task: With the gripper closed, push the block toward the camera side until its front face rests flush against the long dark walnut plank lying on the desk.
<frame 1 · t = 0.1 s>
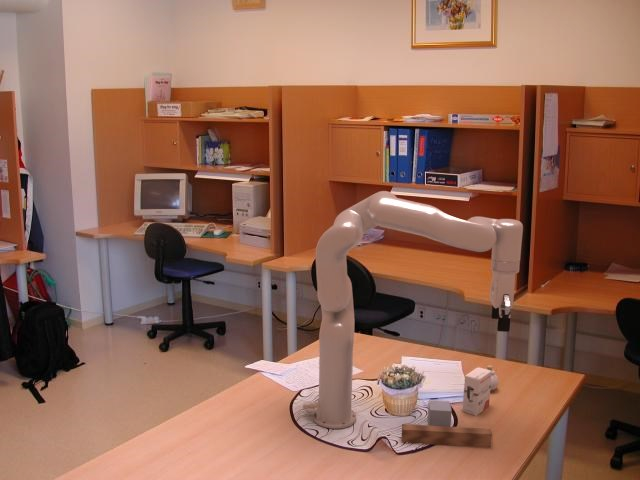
hand: (500, 324, 199), 31 cm above the table, fingers open, 9 cm apart
block: (438, 424, 208), on the table
board: (445, 442, 198), on the table
ink box: (475, 409, 218), on the table
ornament: (489, 391, 230), on the table
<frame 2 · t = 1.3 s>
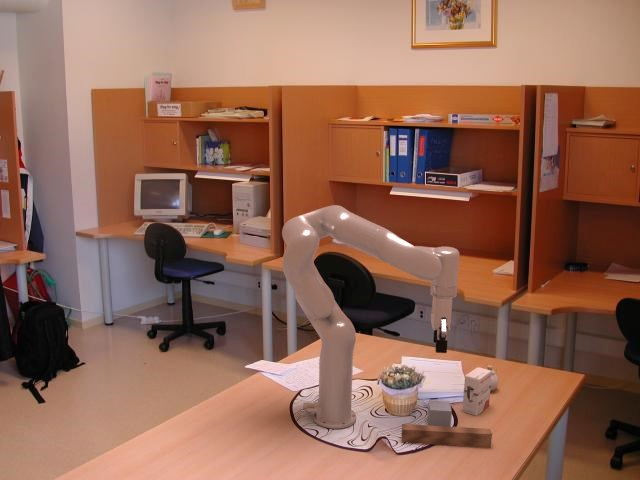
hand: (439, 347, 213), 20 cm above the table, fingers open, 6 cm apart
nothing on the table moved.
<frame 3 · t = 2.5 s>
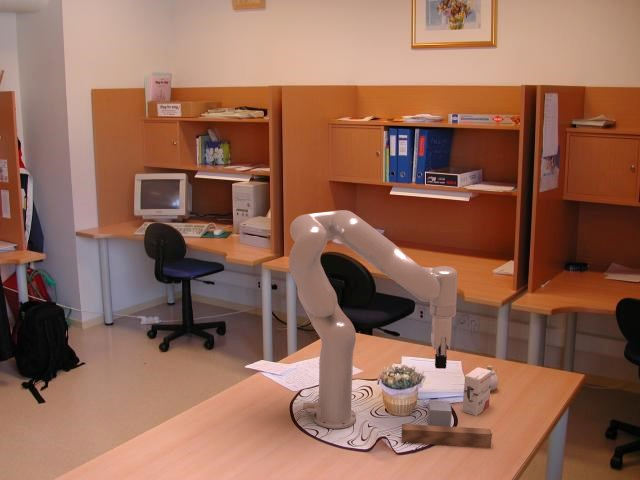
hand: (440, 367, 214), 13 cm above the table, fingers closed
nothing on the table moved.
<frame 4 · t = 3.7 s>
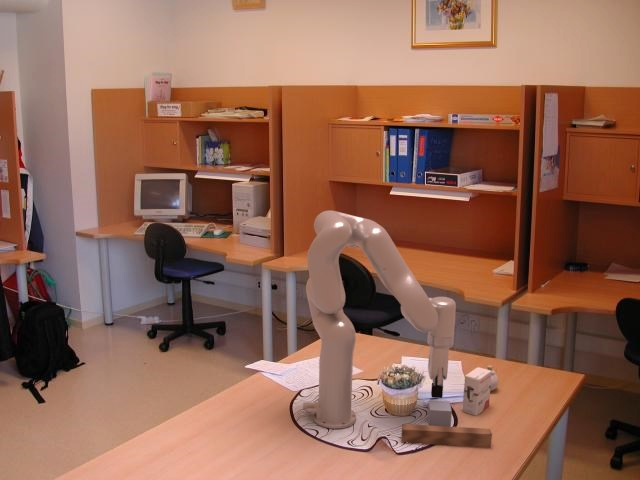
hand: (436, 396, 216), 4 cm above the table, fingers closed
nothing on the table moved.
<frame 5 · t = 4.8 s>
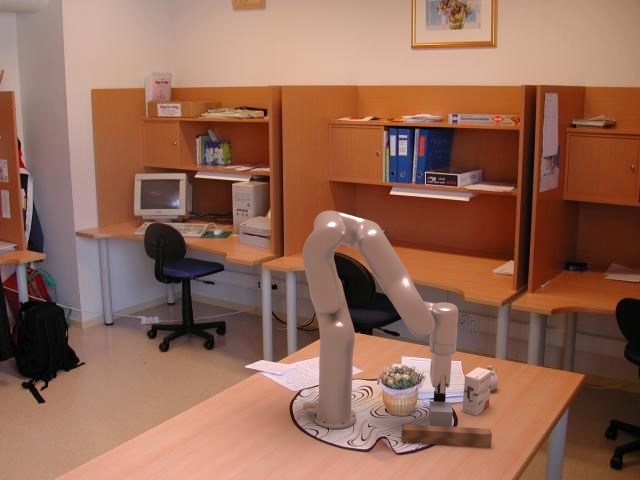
hand: (439, 404, 211), 4 cm above the table, fingers closed
block: (439, 425, 207), on the table, touching gripper
everything else where it was.
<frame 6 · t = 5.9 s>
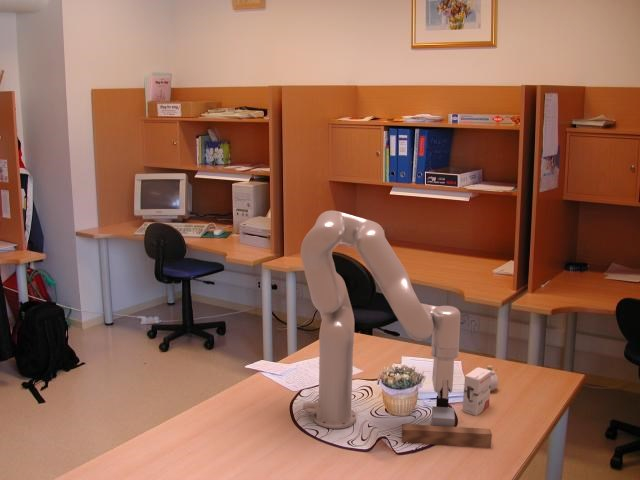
hand: (442, 409, 207), 5 cm above the table, fingers closed
block: (442, 431, 204), on the table, touching gripper
everything else where it was.
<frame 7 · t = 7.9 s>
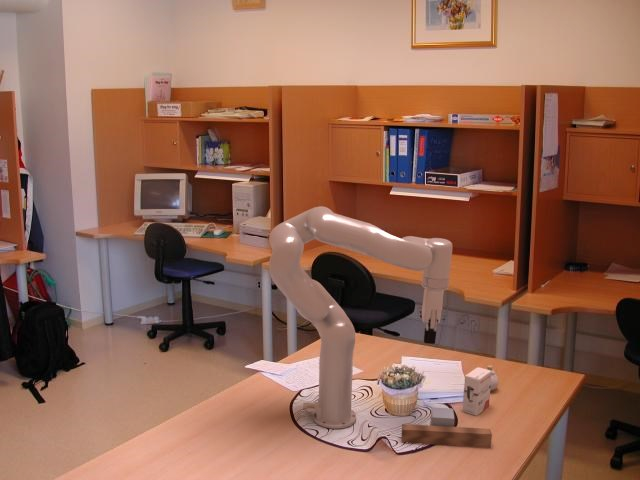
hand: (429, 342, 209), 22 cm above the table, fingers closed
block: (441, 432, 204), on the table
everything else where it was.
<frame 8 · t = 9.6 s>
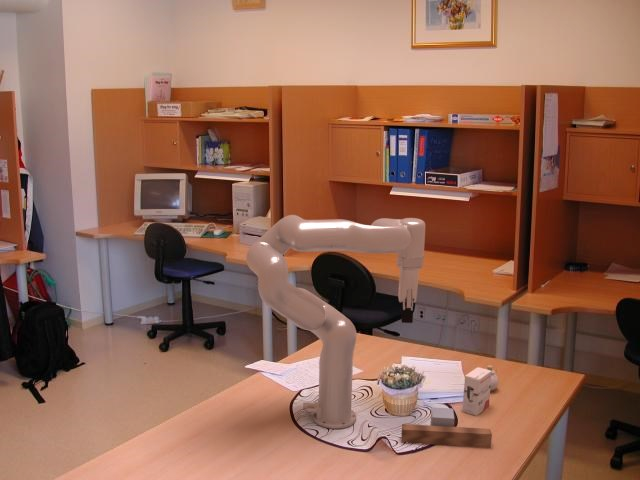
hand: (406, 321, 212), 27 cm above the table, fingers closed
nothing on the table moved.
at the end: block inside the target area on the table beside the board (0.6 cm from its centre), on the table; block tilted 0° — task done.
